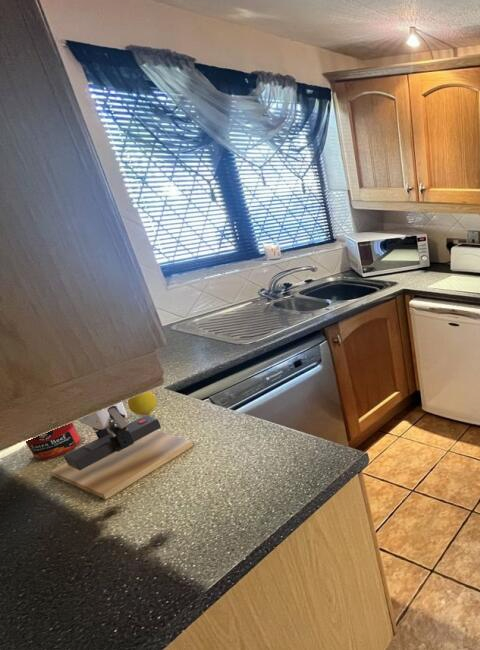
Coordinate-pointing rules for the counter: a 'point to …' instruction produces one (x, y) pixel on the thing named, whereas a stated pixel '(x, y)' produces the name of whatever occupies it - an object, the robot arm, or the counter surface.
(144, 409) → the lemon
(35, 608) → the counter surface
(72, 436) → the canned food
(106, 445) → the remote
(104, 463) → the board
